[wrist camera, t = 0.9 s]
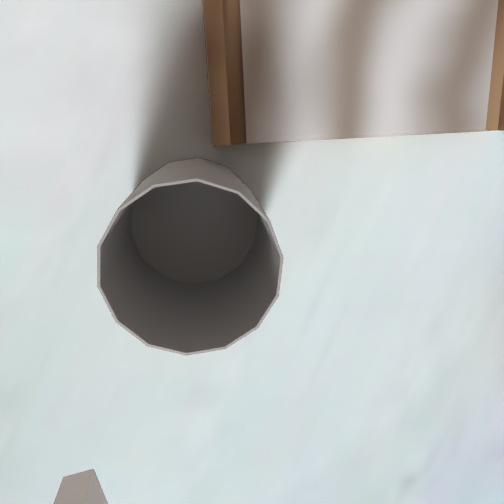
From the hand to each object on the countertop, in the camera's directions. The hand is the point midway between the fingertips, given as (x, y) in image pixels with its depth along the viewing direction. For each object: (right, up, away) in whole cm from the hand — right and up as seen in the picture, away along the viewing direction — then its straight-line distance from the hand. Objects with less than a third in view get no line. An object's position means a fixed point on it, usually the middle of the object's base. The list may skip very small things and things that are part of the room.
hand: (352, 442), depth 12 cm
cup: (-6, +7, +18) cm, 21 cm away
